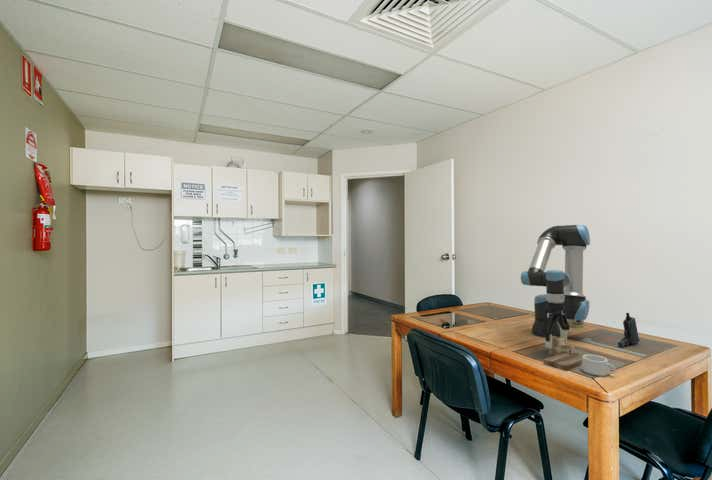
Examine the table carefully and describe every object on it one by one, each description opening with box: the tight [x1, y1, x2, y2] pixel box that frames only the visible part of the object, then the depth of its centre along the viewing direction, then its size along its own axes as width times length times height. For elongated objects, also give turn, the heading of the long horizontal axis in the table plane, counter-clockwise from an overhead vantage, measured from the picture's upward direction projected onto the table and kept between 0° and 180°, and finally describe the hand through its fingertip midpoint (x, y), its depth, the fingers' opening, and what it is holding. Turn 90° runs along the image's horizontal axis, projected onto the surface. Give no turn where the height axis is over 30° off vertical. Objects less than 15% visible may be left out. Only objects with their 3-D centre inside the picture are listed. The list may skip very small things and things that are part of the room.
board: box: [543, 350, 584, 372], centre depth 151 cm, size 10×20×2 cm, turn 121°
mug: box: [580, 353, 617, 377], centre depth 139 cm, size 12×10×6 cm
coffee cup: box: [567, 319, 585, 329], centre depth 208 cm, size 9×9×12 cm
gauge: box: [548, 336, 575, 356], centre depth 159 cm, size 10×5×8 cm, turn 31°
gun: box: [617, 312, 641, 349], centre depth 170 cm, size 3×17×15 cm
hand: (556, 345), depth 161 cm, fingers open, 13 cm apart
